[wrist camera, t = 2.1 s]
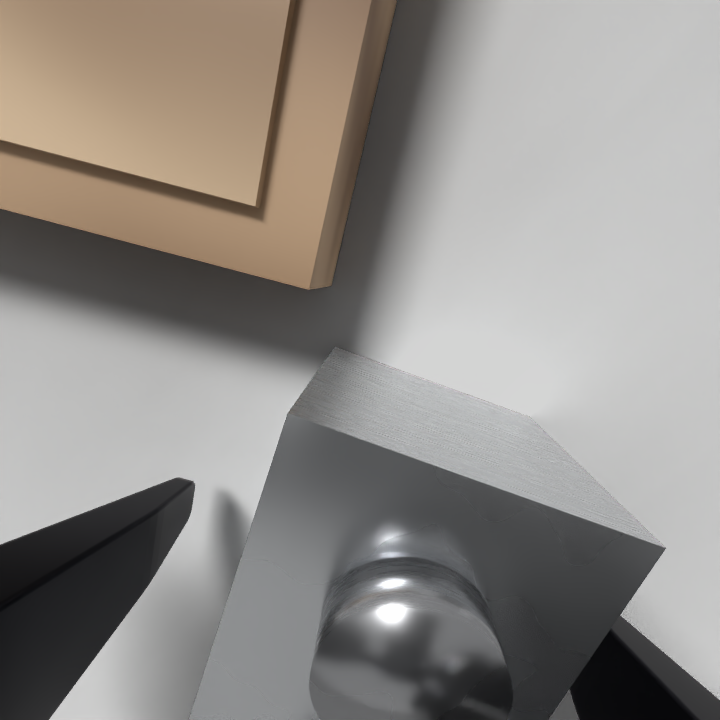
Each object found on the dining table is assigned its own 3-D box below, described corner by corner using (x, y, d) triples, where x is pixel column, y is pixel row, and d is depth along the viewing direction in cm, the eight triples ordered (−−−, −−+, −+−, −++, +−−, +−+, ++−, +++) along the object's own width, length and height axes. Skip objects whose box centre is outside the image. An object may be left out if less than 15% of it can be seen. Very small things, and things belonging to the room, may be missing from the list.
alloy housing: (408, 647, 11) (430, 985, 6) (250, 593, 10) (127, 886, 5) (527, 414, 9) (727, 606, 4) (335, 345, 9) (266, 443, 4)
